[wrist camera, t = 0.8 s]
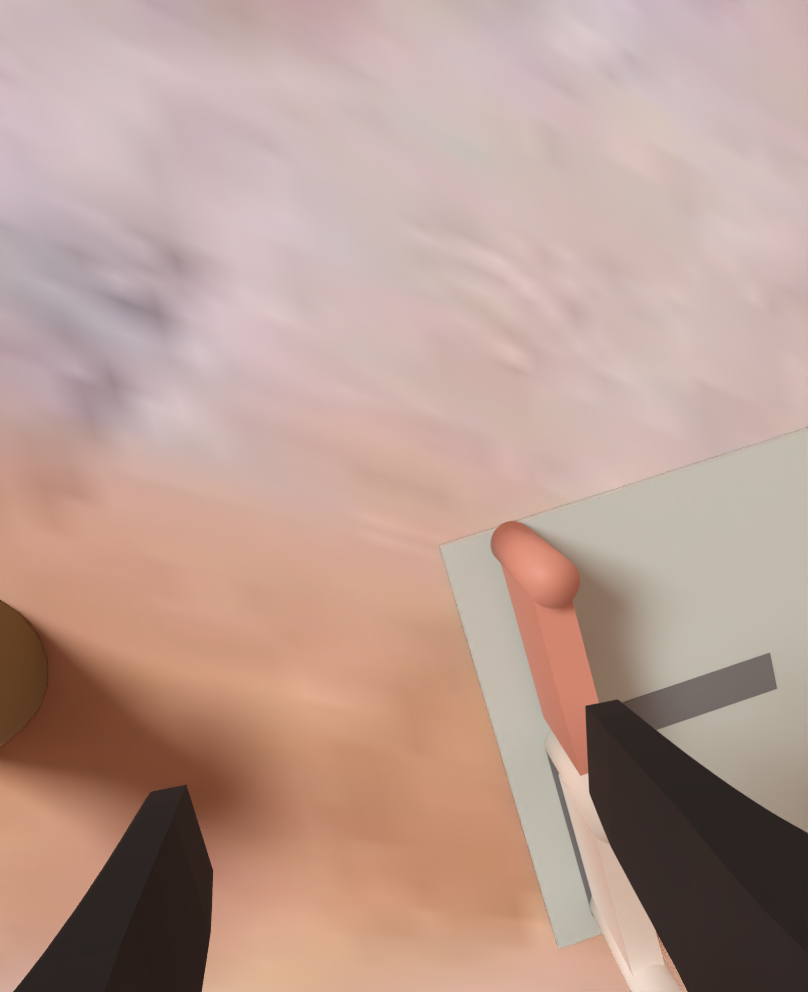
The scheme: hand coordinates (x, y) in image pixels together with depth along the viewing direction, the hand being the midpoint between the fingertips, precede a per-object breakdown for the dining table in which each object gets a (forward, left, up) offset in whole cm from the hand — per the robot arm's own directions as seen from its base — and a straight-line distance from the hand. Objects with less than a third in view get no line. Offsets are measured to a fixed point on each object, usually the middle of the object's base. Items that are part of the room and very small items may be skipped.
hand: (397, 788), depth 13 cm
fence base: (-13, -6, -14) cm, 20 cm away
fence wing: (-4, -6, -13) cm, 15 cm away
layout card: (-9, -11, -14) cm, 20 cm away
